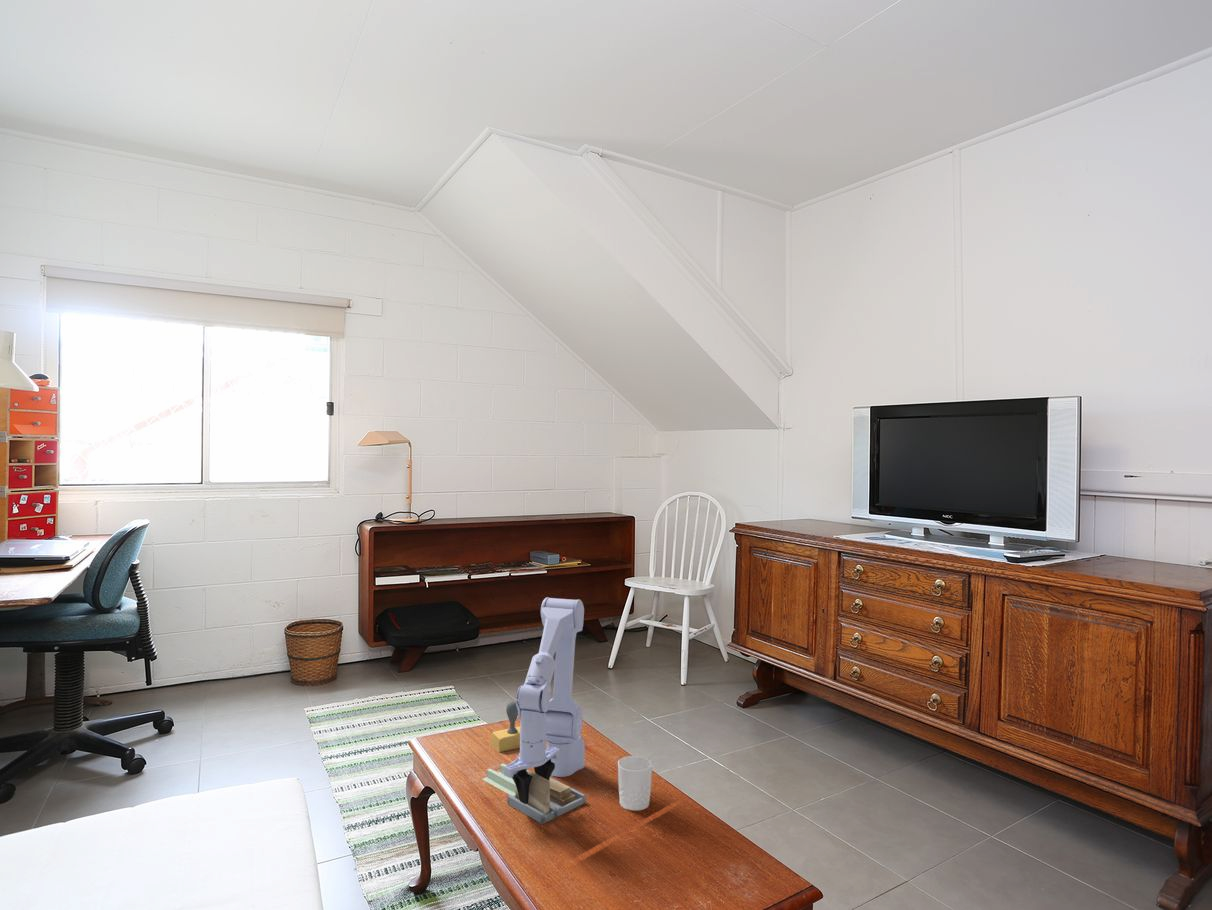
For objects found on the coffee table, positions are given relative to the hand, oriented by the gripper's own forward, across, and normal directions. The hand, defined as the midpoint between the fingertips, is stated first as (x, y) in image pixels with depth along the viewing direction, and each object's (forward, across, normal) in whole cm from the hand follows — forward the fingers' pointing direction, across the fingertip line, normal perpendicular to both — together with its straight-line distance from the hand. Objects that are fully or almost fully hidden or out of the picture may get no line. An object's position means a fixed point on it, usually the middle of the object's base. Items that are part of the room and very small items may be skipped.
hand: (532, 798), depth 159 cm
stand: (+3, -5, -14) cm, 15 cm away
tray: (+3, -4, 0) cm, 5 cm away
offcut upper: (+1, -7, 0) cm, 8 cm away
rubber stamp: (+4, -20, -32) cm, 38 cm away
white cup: (+4, -19, +14) cm, 24 cm away
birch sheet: (+3, 0, 0) cm, 3 cm away
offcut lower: (+3, -8, 0) cm, 8 cm away
